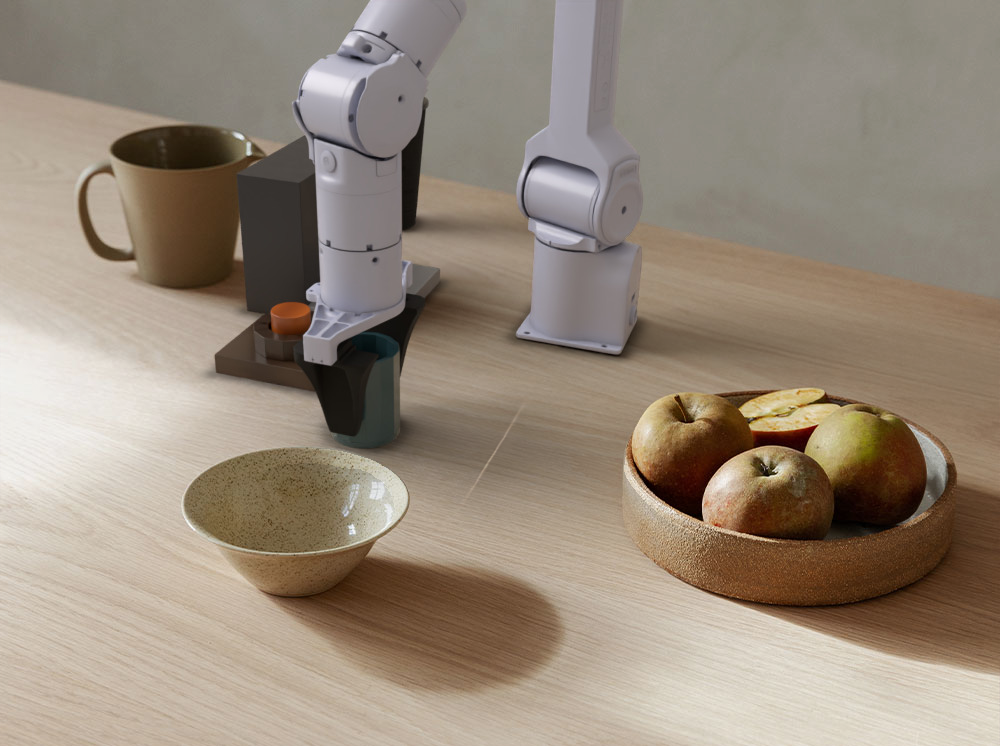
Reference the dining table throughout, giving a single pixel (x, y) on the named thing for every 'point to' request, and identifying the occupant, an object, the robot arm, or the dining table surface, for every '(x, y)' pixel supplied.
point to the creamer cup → (378, 394)
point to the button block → (263, 356)
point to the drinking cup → (412, 172)
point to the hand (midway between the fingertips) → (364, 408)
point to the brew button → (290, 318)
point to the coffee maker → (288, 231)
